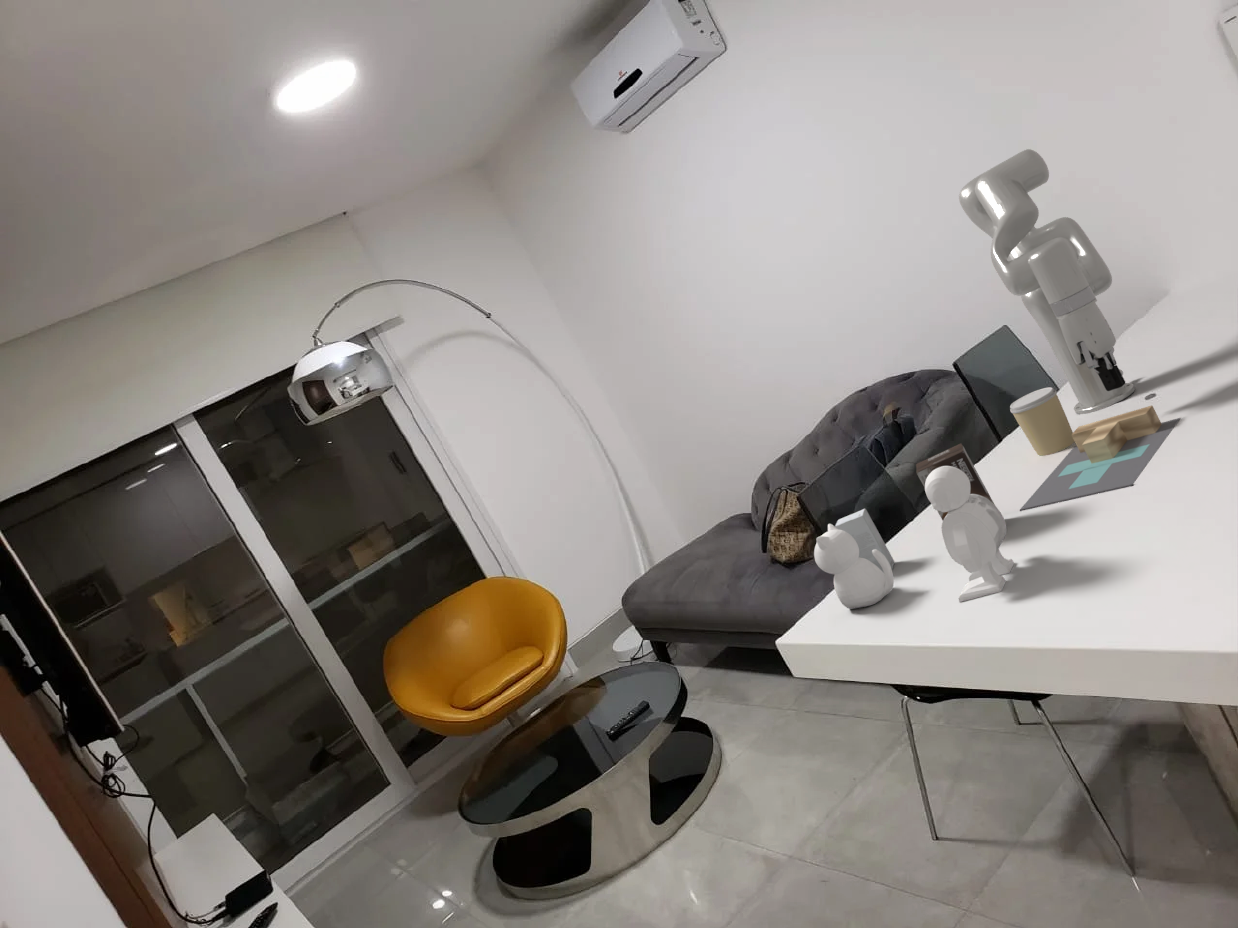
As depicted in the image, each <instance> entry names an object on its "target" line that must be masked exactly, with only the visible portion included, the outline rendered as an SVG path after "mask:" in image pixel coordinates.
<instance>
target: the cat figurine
mask: <svg viewBox="0 0 1238 928" xmlns="http://www.w3.org/2000/svg"><path fill="white" fill-rule="evenodd" d="M815 539H816V544H815V546H814V550H813V556H814V561H815V563H816V565H817V566H818V568H819V569H820V570H821V571H823V572H825V573H827V574H830V575H834V576H833V585H834V586H833V587H834V590H835V593H836V596H837V598H838V599H839V601H840V603H841V604H842V605H843V606H844V607H845V608H846V609H851V610H852V609H854V610H855V609H858V608H863V607H864V608H865V607H870V606H873V605H875V604H877V603H879V602H880V601H882V600H883V598H884V597H885V596H887V595H888V594H890V593H891V592H892V590H893V588H894V583H895V581H894V580H895V579H894V574H893V573H894V572H893V569H891V566H890V564H889V562H888V560H887V559H886V557H885V556H884V555H883V554H882V553H881V552H880V551H878V550H876V549H874V550H872V554H873V556H874V557H875V558H876V560H877V561H878V562H879V564H880V565H881V567H882V569H883V571H884V573H883V572H882V571H881V570H880V569H879V568H878V567H877V566H876V565H875V564H873V563H872V562H870V561H869V560H867V559H865V558H860V557H859V547H858V545H857V543H856V541H855V539H854V538H853V537H852V536H851V535H850V534H849V533H847V532H845V531H843V530H838V529H837V528H836V527H835V525H833V524H832V523H828V524H827V531H826V532H824V533H823V534H822V535H820V536H818V537H816V538H815Z"/></svg>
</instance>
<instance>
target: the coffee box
mask: <svg viewBox="0 0 1238 928" xmlns="http://www.w3.org/2000/svg"><path fill="white" fill-rule="evenodd" d="M915 466H916V471H915V472H916V475H917V476H918V479H919V480H920V482H921V484H922V485H923V487H924V488H925V482H926V479H927V477H928V475H929V474H930V473H931V472H932V471H933V470H935V469H936V468H939V467H941V466H952V467H955V468H958V469H960V470H961V471H963V472H964V473H965V474H966V475H967V477H968V479H969V481H970V494H977V495H981V496H983V497H985V498H987V499H988V500H990V501H991V502H992V503H993V504H994V505H995V502H994V500H993V499H992V497H991V495H990V494H989V491H988V489H987V488H986V485H985V484H984V482H983V480H982V479H981V477H980V475H979V473H978V471H977V469H976V468H975V466H974V463H973V462H972V460H971V458H970V457H969V454H968V453H967V451H966V449H965V447H964V445H963V444H962V442H961V443H959V444H957V445H954V446H951V447H950V448H948V449H945V450H943V451H941V452H939V453H937V454H935V455H932V456H930V457H928V458H926V459H924V460H922V461H919V462H917V463H916V464H915ZM995 506H996V505H995ZM936 511H937V513H938V516H939V517H940V519H941V520H942V521H943V520H944V518H945V517H946V515H947V514H948V512H949V511H948V512H941V511H938V510H936Z"/></svg>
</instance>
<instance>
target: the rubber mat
mask: <svg viewBox="0 0 1238 928" xmlns="http://www.w3.org/2000/svg"><path fill="white" fill-rule="evenodd" d="M1180 419H1181V417H1177V418H1174V419H1170V420H1166V421H1163V422H1161V424H1162V425H1161V426H1160V427H1159V429H1158V430H1157V431H1156V433H1153V434H1150V435H1146V436H1142V437H1138V438H1134V439H1131V440H1127V442H1126V443H1125V444H1124V445H1123V447H1122V448H1121V449H1120V450H1119V452H1121V451H1125V450H1129V449H1133V448H1137V447H1140V446H1144V445H1148V444H1150V445H1149V446H1148V447H1147V449H1146V450H1145V451H1144V453H1143V454H1142V455H1141V456H1140V457H1136V458H1132V459H1128V460H1124V461H1120V462H1116V463H1112V464H1111V465H1110V467H1109V468H1108V469H1107V471H1106V472H1105V473H1104V474H1103V476H1102V477H1101V478H1100V480H1099V481H1098V482H1097V483H1093V484H1088V485H1084V486H1080V487H1076V488H1071V489H1069V488H1070V486H1071V485H1072V484H1073V483H1074V482H1075V480H1076V479H1077V478H1078V477H1079V475H1080V474H1081V473H1082V472H1083V471H1080V472H1076V473H1072V474H1068V475H1064V476H1060V477H1058V476H1059V475H1060V473H1061V472H1062V471H1063V470H1064V469H1065V468H1066V466H1067V465H1070V464H1074V463H1078V462H1082V461H1086V460H1090V459H1089V458H1088V456H1087V454H1086V452H1082V453H1080V451H1079V449H1078V447H1077V445H1074V447H1073V448H1071V450H1070V451H1069V452H1068V453H1067V454H1066V456H1065V457H1064V458H1063V459H1062V460H1061V462H1059V464H1058V465H1057V466H1056V468H1054V470H1053V471H1052V472H1051V473H1050V475H1048V477H1046V479H1045V480H1044V481H1043V482H1042V483H1041V484H1040V486H1039V487H1038V488H1037V489H1036V490H1035V491H1034V493H1033V494H1031V496H1030V497H1029V498H1028V500H1027V501H1026V502H1025V503H1024V504H1023V506H1022V507H1020V509H1019V511H1020V512H1022V511H1028V510H1031V509H1037V508H1040V507H1045V506H1050V505H1053V504H1057V503H1058V502H1059V503H1062V502H1067V501H1070V500H1076V499H1081V498H1085V497H1090V496H1094V495H1099V494H1103V493H1107V492H1111V491H1117V490H1120V489H1125V488H1130V487H1133V486H1135V482H1136V480H1137V479H1138V477H1139V476H1140V475H1141V473H1142V472H1143V471H1144V470H1145V468H1146V467H1147V465H1148V464H1149V462H1150V461H1151V460H1152V458H1153V457H1154V456H1155V454H1156V453H1157V451H1158V450H1159V449H1160V448H1161V446H1162V444H1163V443H1164V442H1165V440H1167V437H1168V436H1169V435H1170V433H1171V432H1172V431H1173V429H1174V428H1175V427H1176V425H1177V424H1178V422H1180ZM1098 493H1099V494H1098Z"/></svg>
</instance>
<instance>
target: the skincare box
mask: <svg viewBox="0 0 1238 928" xmlns="http://www.w3.org/2000/svg"><path fill="white" fill-rule="evenodd" d="M834 526H835V527H836V528H837V529H838V530H843V531H845V532H847V533H849V534H850V535H851V536H852V537H853V538H854V539H855V541H856V543H857V545H858V547H859V557H860V558H865V559H867V560H869V561H870V562H872V563H873V564H875V565H876V566H877V567H878V568H879V569H880V570H881V571H882V572H883V573H884V571H883V569H882V567H881V565H880V564H879V562H878V561H877V560H876V558H875V557H874V556H873V554H872V550H874V549H876V550H878V551H880V552H881V553H882V554H883V555H884V556H885V557H886V559H887V560H888V562H889V564H890V566H891V569H892V570H893V569H894V564H895V560H894V558H893V556H892V554H891V552H890V551H889V549H888V547H887V545H886V543H885V541H884V540H883V538H882V536H881V534H880V533H879V530H878V529H877V526H876V524H875V523H874V522H873V520H872V518H871V516H870V514H869V512H868V510H867V509H866V508H863V509H861V510H858V511H856V512H854V513H850V514H849V515H847V516H844V517H842V518H839V519H838V520H837V521H836V523H835V525H834Z"/></svg>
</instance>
